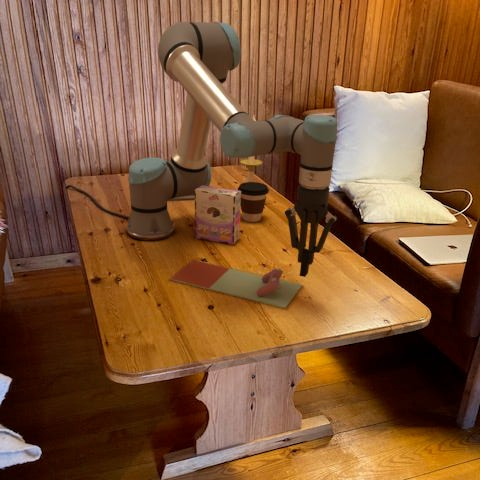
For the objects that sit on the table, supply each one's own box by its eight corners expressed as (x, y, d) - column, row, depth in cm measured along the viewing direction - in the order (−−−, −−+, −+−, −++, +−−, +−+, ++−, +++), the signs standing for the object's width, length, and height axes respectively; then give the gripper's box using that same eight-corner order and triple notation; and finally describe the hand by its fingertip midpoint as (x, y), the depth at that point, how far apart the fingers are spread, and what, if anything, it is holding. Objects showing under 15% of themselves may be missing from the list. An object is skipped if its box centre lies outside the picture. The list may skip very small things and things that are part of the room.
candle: (266, 200, 208) (273, 113, 191) (253, 207, 201) (258, 117, 184) (245, 195, 213) (249, 109, 195) (231, 202, 205) (234, 113, 188)
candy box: (240, 239, 175) (242, 190, 166) (233, 245, 170) (235, 195, 161) (201, 232, 178) (201, 183, 170) (194, 238, 174) (194, 189, 165)
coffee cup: (231, 221, 188) (232, 188, 182) (243, 211, 197) (244, 179, 190) (260, 226, 185) (262, 193, 178) (271, 216, 193) (273, 184, 187)
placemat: (170, 280, 148) (170, 278, 148) (193, 261, 159) (193, 259, 159) (285, 308, 137) (285, 307, 137) (301, 286, 148) (301, 284, 148)
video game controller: (269, 303, 141) (282, 284, 137) (254, 295, 141) (267, 275, 137) (274, 286, 149) (287, 268, 146) (260, 278, 149) (273, 259, 145)
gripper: (282, 185, 125) (275, 274, 137) (336, 193, 121) (324, 285, 133) (293, 176, 131) (285, 263, 143) (344, 185, 127) (331, 273, 139)
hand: (303, 274), depth 138 cm, fingers closed
